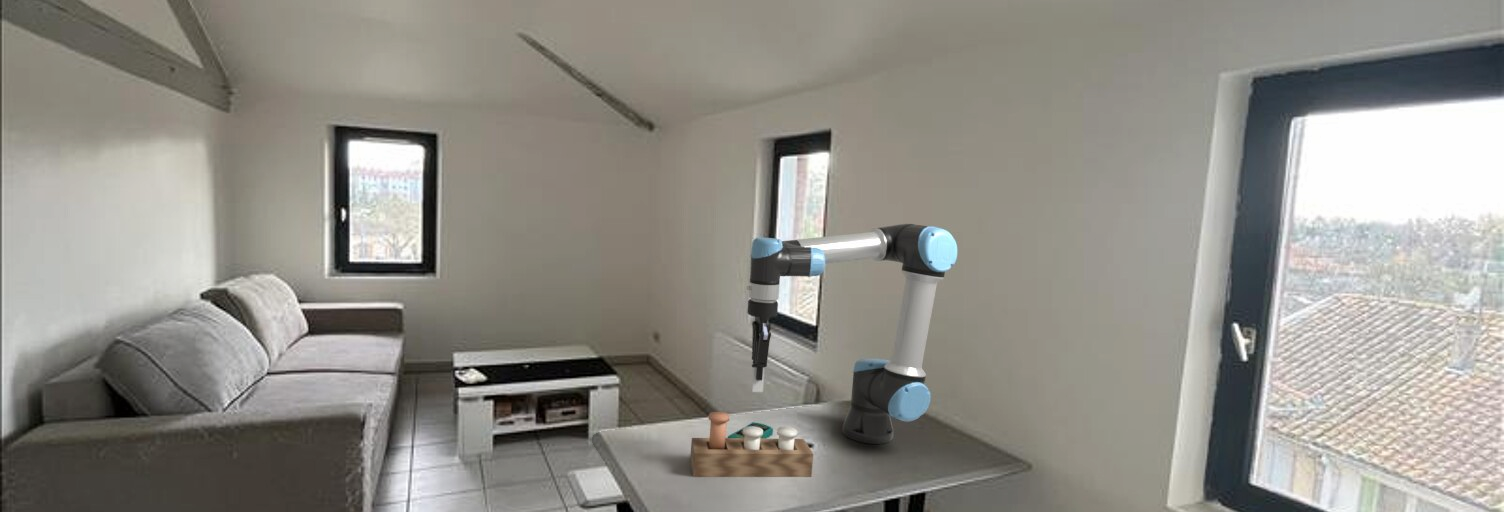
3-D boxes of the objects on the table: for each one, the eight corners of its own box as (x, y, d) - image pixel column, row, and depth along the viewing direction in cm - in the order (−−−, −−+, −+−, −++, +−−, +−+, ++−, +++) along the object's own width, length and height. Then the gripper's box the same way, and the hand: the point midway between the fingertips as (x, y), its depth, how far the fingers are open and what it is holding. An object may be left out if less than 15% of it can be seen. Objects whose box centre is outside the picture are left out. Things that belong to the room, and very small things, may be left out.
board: (801, 460, 182) (803, 438, 181) (811, 476, 172) (813, 454, 171) (690, 459, 176) (691, 437, 176) (693, 476, 167) (694, 453, 166)
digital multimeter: (773, 435, 199) (774, 425, 199) (749, 451, 186) (750, 440, 186) (752, 429, 203) (752, 420, 203) (726, 444, 190) (727, 434, 190)
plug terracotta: (725, 445, 175) (727, 411, 174) (728, 453, 170) (730, 418, 169) (705, 445, 174) (707, 411, 173) (707, 453, 169) (709, 418, 168)
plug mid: (758, 459, 177) (761, 426, 176) (762, 468, 172) (764, 433, 171) (738, 459, 176) (741, 426, 175) (741, 467, 171) (744, 433, 170)
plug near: (792, 459, 179) (794, 426, 178) (796, 468, 174) (799, 434, 173) (772, 459, 178) (775, 426, 177) (776, 468, 173) (779, 434, 172)
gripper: (744, 294, 175) (738, 383, 178) (752, 304, 162) (746, 399, 165) (772, 295, 176) (766, 383, 179) (783, 305, 164) (776, 399, 166)
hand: (757, 391), depth 172 cm, fingers closed
